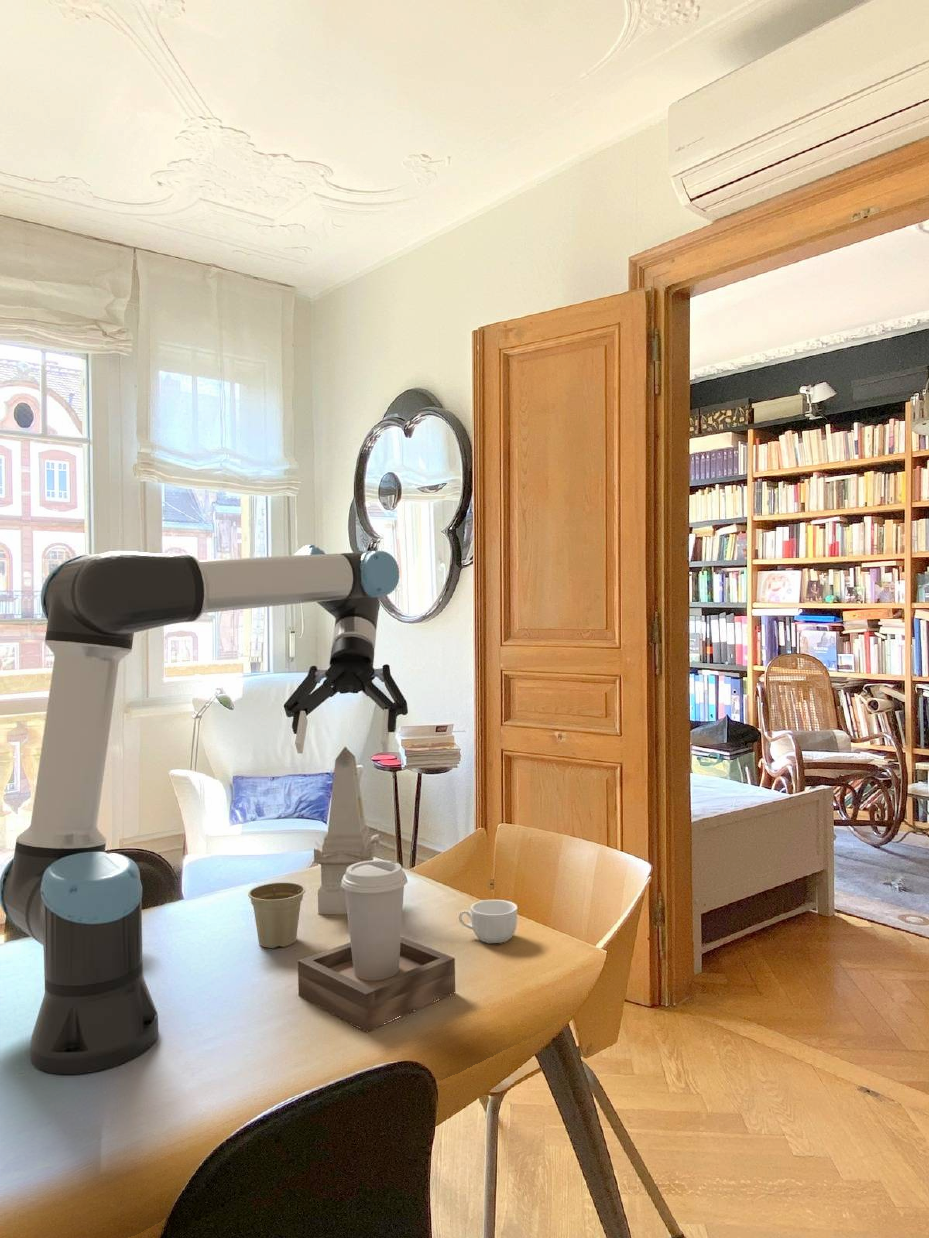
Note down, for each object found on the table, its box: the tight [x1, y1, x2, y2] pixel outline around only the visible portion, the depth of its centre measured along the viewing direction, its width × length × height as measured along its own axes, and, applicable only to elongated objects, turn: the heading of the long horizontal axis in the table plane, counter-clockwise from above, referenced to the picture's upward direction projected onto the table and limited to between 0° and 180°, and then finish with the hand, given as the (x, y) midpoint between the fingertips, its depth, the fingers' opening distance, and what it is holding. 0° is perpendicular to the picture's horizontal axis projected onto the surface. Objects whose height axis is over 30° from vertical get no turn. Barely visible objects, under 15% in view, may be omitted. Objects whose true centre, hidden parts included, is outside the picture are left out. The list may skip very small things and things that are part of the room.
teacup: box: [458, 899, 518, 944], centre depth 143 cm, size 10×8×5 cm
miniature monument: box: [313, 746, 380, 915], centre depth 162 cm, size 10×10×30 cm
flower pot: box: [247, 881, 306, 949], centre depth 144 cm, size 9×9×9 cm
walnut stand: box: [297, 936, 456, 1032], centre depth 123 cm, size 16×16×5 cm
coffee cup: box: [341, 859, 408, 981], centre depth 124 cm, size 10×10×15 cm
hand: (341, 747), depth 136 cm, fingers open, 13 cm apart
